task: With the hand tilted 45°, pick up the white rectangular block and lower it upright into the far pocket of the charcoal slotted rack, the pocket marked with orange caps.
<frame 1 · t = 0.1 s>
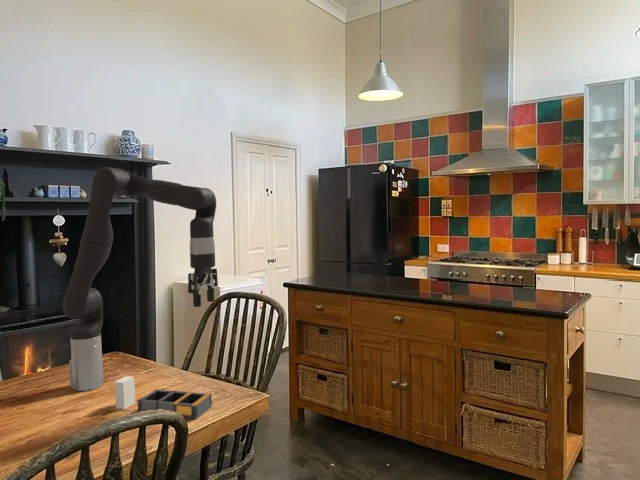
hand: (204, 304, 146), 29 cm above the table, tool pointing down, fingers open, 8 cm apart
slot rack: (175, 410, 137), on the table
white rectangular block: (125, 405, 141), on the table
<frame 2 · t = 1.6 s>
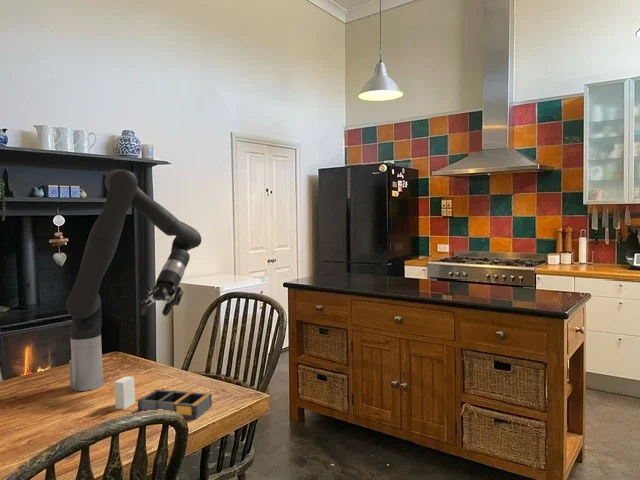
hand: (152, 314, 155), 25 cm above the table, tool tilted 45°, fingers open, 8 cm apart
nothing on the table moved.
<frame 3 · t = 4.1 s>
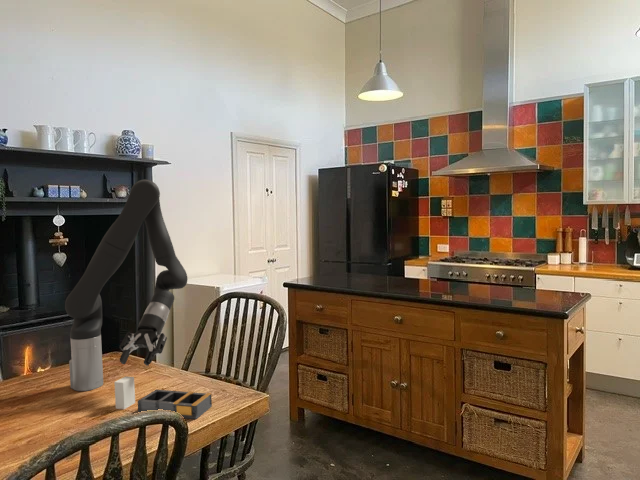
hand: (134, 363, 145), 11 cm above the table, tool tilted 45°, fingers open, 8 cm apart
nothing on the table moved.
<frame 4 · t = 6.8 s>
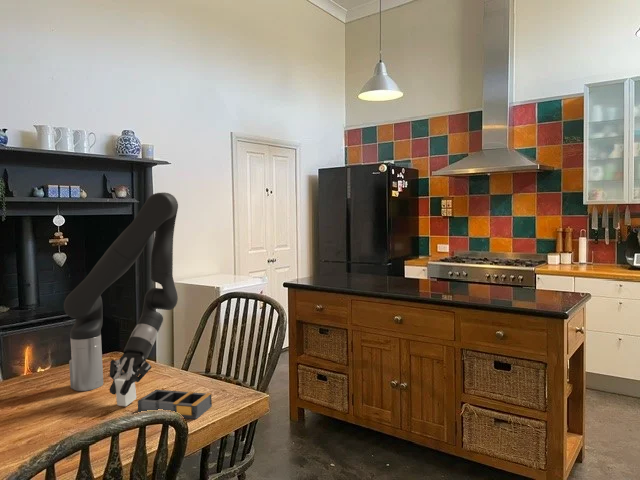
hand: (117, 393, 138), 5 cm above the table, tool tilted 45°, fingers closed on white rectangular block, 3 cm apart
white rectangular block: (127, 401, 142), point 1 cm above the table, touching gripper
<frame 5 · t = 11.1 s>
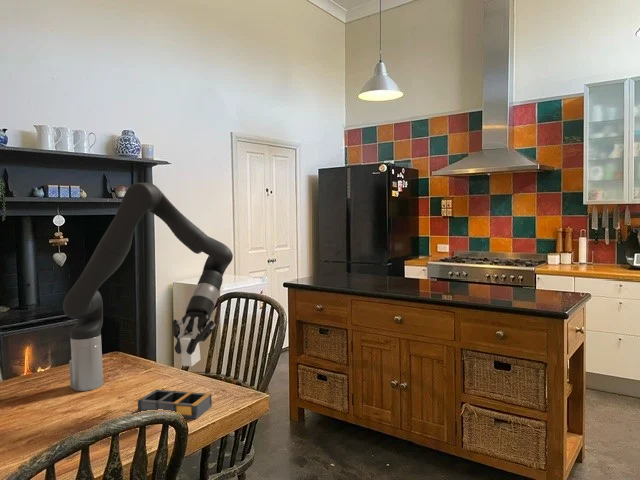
hand: (183, 352, 131), 18 cm above the table, tool tilted 45°, fingers closed on white rectangular block, 3 cm apart
white rectangular block: (191, 362, 135), point 14 cm above the table, touching gripper
when the fingers open (6 cm above the table, at t = 15.5 s): white rectangular block drops 2 cm, resting on slot rack.
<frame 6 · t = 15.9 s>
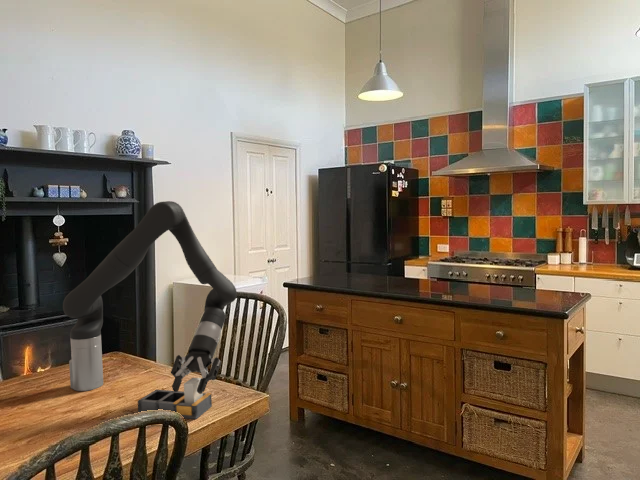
hand: (187, 391, 132), 7 cm above the table, tool tilted 45°, fingers open, 7 cm apart
white rectangular block: (194, 408, 136), point 1 cm above the table, touching slot rack
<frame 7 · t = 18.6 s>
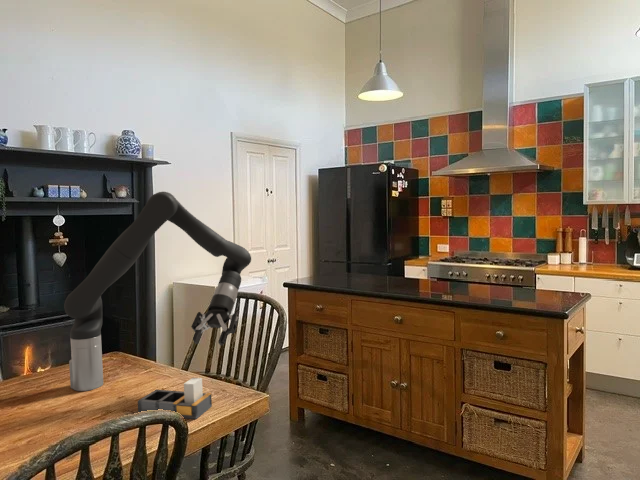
hand: (207, 343, 144), 17 cm above the table, tool tilted 45°, fingers open, 8 cm apart
nothing on the table moved.
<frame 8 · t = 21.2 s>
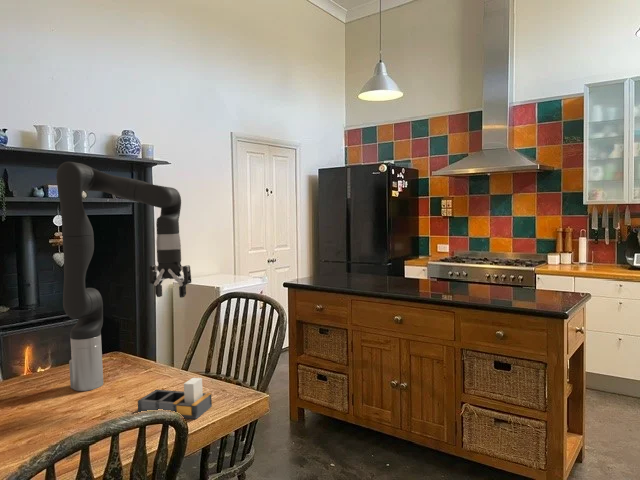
hand: (170, 296, 154), 30 cm above the table, tool pointing down, fingers open, 8 cm apart
nothing on the table moved.
at the end: white rectangular block 0.7 cm from the target spot on the slot rack, point 0.8 cm above the slot rack's base; white rectangular block tilted 0°; the gripper is holding nothing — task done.
